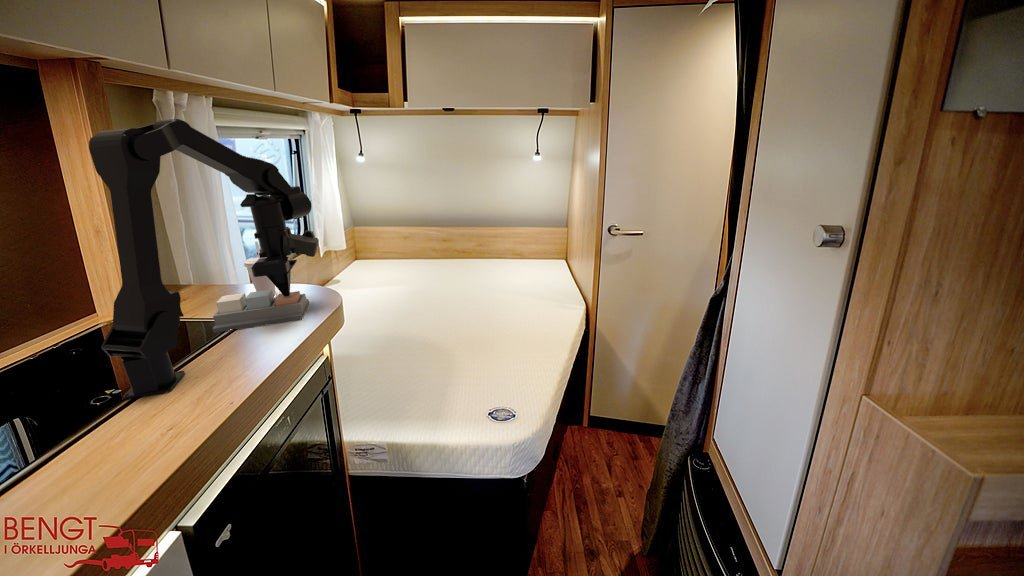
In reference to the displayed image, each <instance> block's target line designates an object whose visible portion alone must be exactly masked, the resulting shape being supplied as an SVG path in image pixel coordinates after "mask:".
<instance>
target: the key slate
mask: <svg viewBox="0 0 1024 576" xmlns="http://www.w3.org/2000/svg"><path fill="white" fill-rule="evenodd" d="M274 298H275V297H274V296H273V292H272V290H265V291H257V292H256V291H252V292H251V291H250V292H249V293H248V295H246V298H245V301H246V305H247V308H248V310H250V309H257V308H264V307H270V306H271V305H272V303H273V302H274Z"/></svg>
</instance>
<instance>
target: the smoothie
mask: <svg viewBox="0 0 1024 576" xmlns="http://www.w3.org/2000/svg"><path fill="white" fill-rule="evenodd" d="M254 243H255V248H256V252H257V256H258V257H253V258H249V259H247V260H245V261H243V264H244V265H243V266H244V267H245V268H246V270H247V273H248V275H249V277H250V279H251V282H252V285H253V286H254V289H255V292H257V291H265V290H272V292H273V296H275V295H276V296H277V294H276V286H275V285H274V284H273V283H272V281H271V280H270V279H269V278H268V277H267V276H260V277H254V276H253V272H252V266H253V265H254V264H255V262H256V261H257V260H258V259H260V256H259V253H260V252H261V249H260V245H259V241H254ZM266 258H267V257H266Z"/></svg>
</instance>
